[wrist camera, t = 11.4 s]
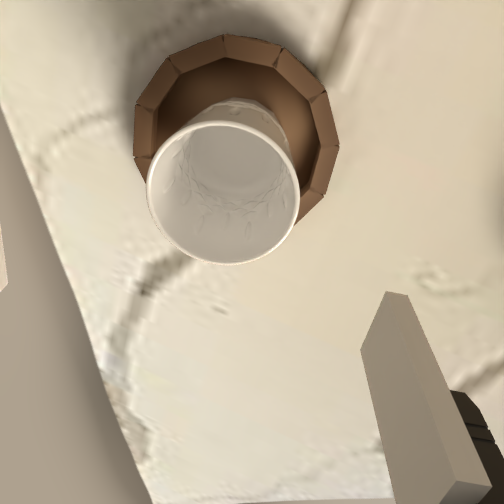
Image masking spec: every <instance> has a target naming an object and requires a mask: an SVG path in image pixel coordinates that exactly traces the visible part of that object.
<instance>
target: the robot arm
mask: <svg viewBox="0 0 504 504" xmlns="http://www.w3.org/2000/svg"><path fill="white" fill-rule="evenodd" d="M7 284H8V279H7V271H6V264H5V257H4V248H3V241H2V234H1V225H0V291H1V290H2V289H3V288H4V287H5V286H6V285H7ZM360 351H361V355H362V359H363V364H364V368H365V372H366V376H367V381H368V385H369V389H370V394H371V398H372V402H373V406H374V411H375V415H376V419H377V424H378V428H379V432H380V437H381V441H382V445H383V449H384V454H385V458H386V462H387V467H388V471H389V475H390V479H391V484H392V488H393V492H394V497H395V501H396V504H504V458H503V456H502V454H501V452H500V450H499V448H498V446H497V445H496V444H495V440H494V438H493V436H492V434H491V432H490V430H488V426H487V424H486V422H485V420H484V418H483V416H482V414H481V412H480V410H479V408H478V407H477V406H476V405H475V404H474V403H473V402H472V400H471V399H470V398H469V397H468V396H467V395H466V394H465V393H463V392H457V391H452V390H449V388H448V386H447V383H446V381H445V379H444V376H443V374H442V372H441V370H440V367H439V365H438V363H437V361H436V358H435V356H434V354H433V352H432V349H431V347H430V345H429V343H428V340H427V338H426V336H425V334H424V331H423V329H422V327H421V325H420V322H419V320H418V318H417V316H416V313H415V311H414V309H413V307H412V304H411V302H410V300H409V298H408V295H403V294H398V293H393V292H388V291H386V292H385V294H384V297H383V299H382V301H381V304H380V306H379V308H378V310H377V313H376V315H375V317H374V320H373V322H372V324H371V326H370V329H369V331H368V333H367V336H366V338H365V340H364V342H363V345H362V347H361V349H360Z"/></svg>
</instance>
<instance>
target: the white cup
mask: <svg viewBox="0 0 504 504" xmlns="http://www.w3.org/2000/svg"><path fill="white" fill-rule="evenodd" d="M146 197H147V203H148V207H149V210H150V213H151V216H152V218H153V220H154V222H155V224H156V226H157V227H158V229H159V230H160V232H161V233H162V234H163V235H164V237H165V238H166V239H167V240H168V241H169V242H170V243H171V244H173V245H174V246H175V247H176V248H178V249H179V250H180V251H182V252H183V253H185V254H187V255H189V256H191V257H193V258H195V259H198V260H200V261H203V262H207V263H212V264H218V265H237V264H243V263H247V262H251V261H254V260H257V259H259V258H261V257H263V256H265V255H267V254H268V253H270V252H271V251H273V250H274V249H275V248H277V247H278V246H279V245H280V244H281V243H282V242H283V241H284V239H285V238H286V237H287V236H288V234H289V233H290V231H291V229H292V227H293V225H294V223H295V221H296V218H297V215H298V211H299V204H300V189H299V183H298V179H297V175H296V170H295V166H294V161H293V157H292V153H291V149H290V146H289V143H288V140H287V137H286V135H285V131H284V130H283V128H282V126H281V124H280V123H279V121H278V119H277V117H276V116H275V114H274V112H272V111H271V110H269V109H268V108H266V107H265V106H263V105H262V104H260V103H259V102H258V101H256V100H252V99H245V98H238V97H231V98H228V99H225V100H223V101H220V102H217V103H214V104H212V105H211V106H210V107H208V108H206V109H205V110H203V111H201V112H200V113H199V114H197V115H196V116H194V117H193V118H192V119H190V120H189V121H188V122H187V123H186V124H185V125H183V126H182V127H181V128H180V129H179V130H178V131H177V132H175V133H174V134H173V135H172V136H171V137H169V138H168V139H167V140H166V141H165V142H164V143H163V144H162V146H161V147H160V148H159V149H158V151H157V152H156V154H155V156H154V157H153V159H152V161H151V164H150V167H149V170H148V174H147V179H146Z"/></svg>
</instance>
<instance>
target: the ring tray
mask: <svg viewBox="0 0 504 504" xmlns="http://www.w3.org/2000/svg"><path fill="white" fill-rule="evenodd" d="M231 97H238V98H245V99H252V100H256V101H258V102H259V103H260V104H262V105H263V106H265V107H266V108H268V109H269V110H271V111H272V112H274V114H275V116H276V117H277V119H278V121H279V123H280V124H281V126H282V128H283V130H284V131H285V135H286V137H287V140H288V143H289V146H290V149H291V153H292V157H293V161H294V166H295V170H296V175H297V179H298V183H299V189H300V204H299V211H298V215H297V218H296V221H295V223H294V225H295V224H296V223H297V222H298V221H300V220H301V219H302V218H303V217H304V216H305V215H306V214H307V213H308V212H309V211H310V210H311V209H312V208H313V207H314V206H315V205H316V204H317V203H318V202H319V201H320V200H321V199H322V198H324V196H323V194H324V195H325V194H326V191H327V188H328V184H329V181H330V178H331V174H332V171H333V168H334V164H335V161H336V157H337V154H338V151H339V145H338V144H339V140H338V135H337V131H336V127H335V123H334V119H333V115H332V111H331V107H330V103H329V99H328V95H327V92H326V90H325V88H324V86H323V85H322V84H321V83H320V82H319V81H318V80H317V79H316V78H315V77H314V76H313V74H312V73H311V72H310V71H309V70H308V69H307V68H306V66H305V65H304V64H303V63H301V62H300V61H299V60H298V59H297V58H296V57H294V56H293V55H292V54H291V53H290V52H289V51H288V50H287V49H286V48H285V47H284V48H283V49H282V48H281V45H277V44H272V43H270V42H267V41H263V40H260V39H257V38H251V37H244V36H235V35H231V34H225V35H224V34H222V35H220V36H217V37H215V38H212V39H210V40H207V41H203V42H200V43H198V44H196V45H194V46H192V47H190V48H187V49H185V50H182V51H180V52H177V53H175V54H172V55H170V56H169V57H168V58H166V59H165V61H164V62H163V64H162V65H161V66H160V68H159V69H158V71H157V72H156V74H155V75H154V77H153V78H152V80H151V81H150V83H149V84H148V86H147V87H146V88H145V90H144V91H143V93H142V94H141V96H140V97H139V99H138V100H137V103H138V104H136V105H135V121H134V144H133V156H135V158H134V161H135V163H136V165H137V167H138V169H139V171H140V173H141V175H142V177H143V179H144V181H145V183H146V179H147V174H148V170H149V167H150V164H151V161H152V159H153V157H154V156H155V154H156V152H157V151H158V149H159V148H160V147H161V146H162V144H163V143H164V142H165V141H166V140H167V139H168V138H169V137H171V136H172V135H173V134H174V133H175V132H177V131H178V130H179V129H180V128H181V127H182V126H183V125H185V124H186V123H187V122H188V121H189V120H190V119H192V118H193V117H194V116H196V115H197V114H199V113H200V112H201V111H203V110H205V109H206V108H208V107H210V106H211V105H212V104H214V103H217V102H220V101H223V100H225V99H228V98H231ZM294 225H293V226H294Z"/></svg>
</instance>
